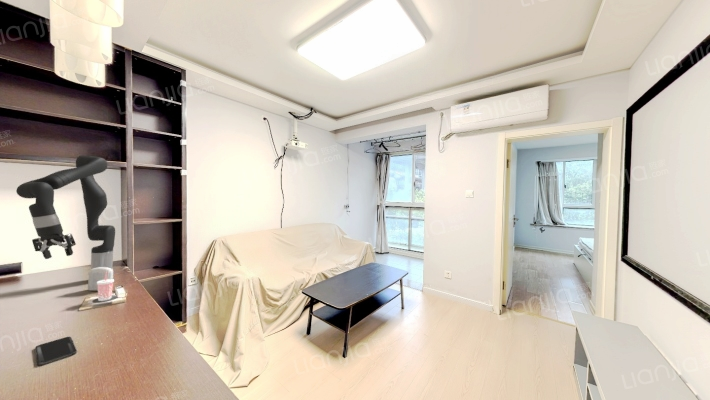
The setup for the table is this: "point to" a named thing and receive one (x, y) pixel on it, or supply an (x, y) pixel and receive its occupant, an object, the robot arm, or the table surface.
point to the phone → (55, 351)
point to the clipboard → (101, 302)
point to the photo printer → (98, 276)
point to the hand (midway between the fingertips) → (59, 256)
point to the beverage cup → (105, 288)
